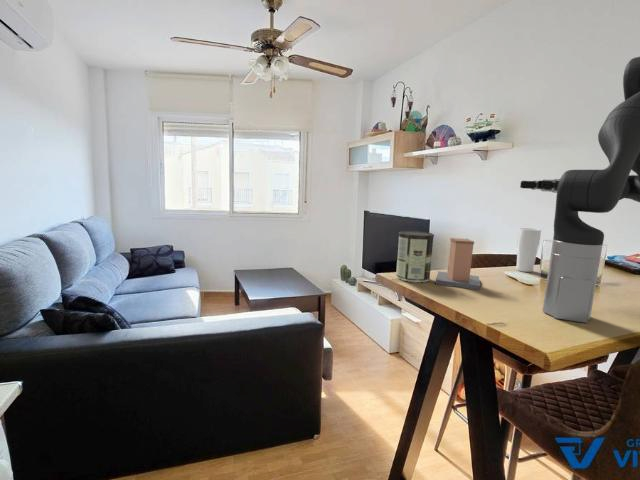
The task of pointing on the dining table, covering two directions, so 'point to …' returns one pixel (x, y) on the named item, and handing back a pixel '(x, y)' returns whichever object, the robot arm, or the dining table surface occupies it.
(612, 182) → the robot arm
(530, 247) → the drinking glass
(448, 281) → the slate coaster
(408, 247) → the coffee can
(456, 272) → the tea tin
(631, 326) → the dining table surface
